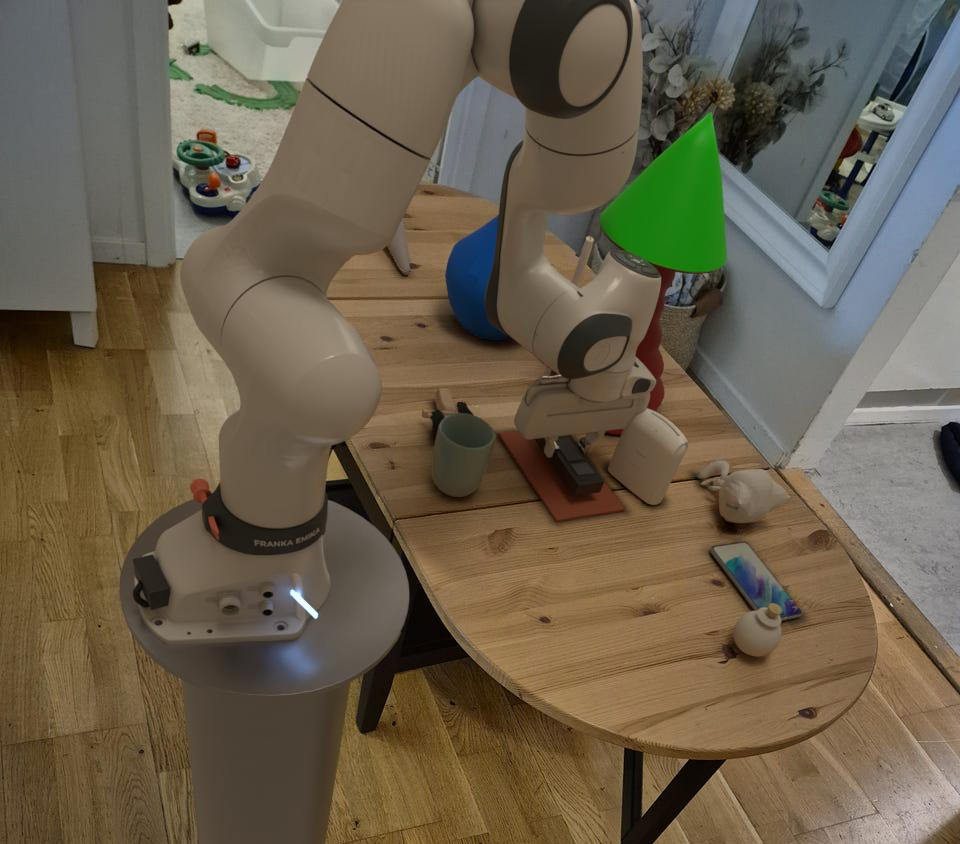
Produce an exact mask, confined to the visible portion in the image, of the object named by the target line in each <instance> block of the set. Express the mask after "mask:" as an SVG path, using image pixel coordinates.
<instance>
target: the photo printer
mask: <svg viewBox="0 0 960 844" xmlns="http://www.w3.org/2000/svg"><path fill="white" fill-rule="evenodd" d="M688 448H689V441H688V440H687V438H686V436H685V435H684V433H683V432H682V431H681V430H680V429H679V428H678V427H677V426H676V424H674V423H673V422H672V421H671V420H669V418H667V417H666V416H664V415H663V414H661V413H659V412H658V411H657V412H655V411H653V410H651V409H648V408H646V411H644V412H643V413H641V414H638V415H636V416H635V417H634V418H633V419H632V421H631V422H630V424H629V426H628V428H626V429H623V432H622V434H621V435H620V436H619V440H618V441H617V444H616V447H615V449H614V452H613V454H612V457H611V459H610V462H609V464H608V468H607V472H608V473H609V474H610V475H611V476H612V477H614V478H615V479H616V480H617V481H618V482H619V483H621V484H622V485H623V486H624V487H625V488H626V489H628V490H629V491H630V492H632V493H633V494H634V495H635V496H636V497H638V498H639V499H640V500H642V501H643V502H644V503H646V504H648V505H650V506H656V505H659V504H661V503H662V501H663V499H664V498H665V495H666V494H667V492H668V490H669V488H670V486H671V483H672V481H673V479H674V477H675V475H676V473H677V471H678V469H679V467H680V465H681V463H682V461H683V459H684V456H685V455H686V452H687V450H688Z"/></svg>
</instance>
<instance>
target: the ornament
mask: <svg viewBox="0 0 960 844" xmlns="http://www.w3.org/2000/svg"><path fill="white" fill-rule="evenodd" d="M796 598H797V597H796V596H795V597H794V598H792V599H793V600H790V601H792V602H793V601H794V602H797V601H798V600H797V599H796ZM792 602H791V603H792ZM801 604H802V602H800V603H798V604H797V606H795V607H792V608H796V609H797V608H800V609H801V608H803V607H804V606H803V605H801ZM796 609H795V610H796ZM780 613H782V608H781V607H780V606H779V605H777V604H775V603H771V604H769V607H768V608H766V607H762V608H760V609H758V611H754V610H751V611H747V612H746V613H744V614H742V615H741V616H740V617H739V618H738V619H737V620H736V622H735V624H734V626H733V629H732V636H733V641H734V643H735V645H736V647H737V648H738V649H739V650H740V651H741V652H743V653H744V654H746V655H748V656H751V657H763V656H767V655H769V654H770V653H773V652H774V651H775V650H776V649H777V648H778V647H779V645H780V642H781V640H782V636H783V635H782V633H783V632H782V626H781V624H782V621H781V618H780V616H779V614H780ZM786 617H787V616H786ZM786 617H785V618H782V619H784V621H786V620H785V619H786Z"/></svg>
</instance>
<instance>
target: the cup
mask: <svg viewBox="0 0 960 844" xmlns="http://www.w3.org/2000/svg"><path fill="white" fill-rule="evenodd" d="M435 436H436V437H435V439H434V446H433V452H432V457H431V466H430V467H431V476H432V481H433V483H434V485H435V486H436V487H437V489H438V490H439V491H440V492H442V493H444V494H445V495H447V496H449V497H453V498H464V497H467V496H469V495H471V494H473V493H474V492H475V491H476V490H477V489H478V488H479V487H480V486H481V484H482V482H483V480H484V478H485V475H486V473H487V471H488V467H489V464H490V461H491V457H492V454H493V450H494V446H495V443H496V433H495V430H494V428H493V427H492V426H491V425H490V423H488V422H487V421H486V420H484V419H482V418H481V417H480V416H479V417H478V416H477V415H474V414H473V415H472V414H467V413H458V412H457V413H456V414H452V415H449V416H447V417H445V418H444V419H443V420H442V421H441V422H440V424H439V427H438V430H437V435H435Z"/></svg>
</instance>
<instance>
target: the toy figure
mask: <svg viewBox="0 0 960 844" xmlns="http://www.w3.org/2000/svg"><path fill="white" fill-rule="evenodd" d="M433 401H434V403H435V405H436V409H433V411H432V412H430V410H424V409H421V417H422V418H423V419H430V420H431V422H432V424H431V425H432V427H431V428H432V430H431V431H432V433H433V434H434V438H436V435H437V430H438V427H439V424H440V422H441V421H442V420H443V419H444V418H445V417H447V416H449V415H452V414H456V413H467V414H472V415H474V413H473V411H471V410H470V408H469V407H468V405H467V403H466V401H465V400H463V401H457V402H456V404H454V401H453V397H452V393H451V390H450V389H449V388H444V387H438V388H437V390H436V393H435V398H434V400H433Z"/></svg>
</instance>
